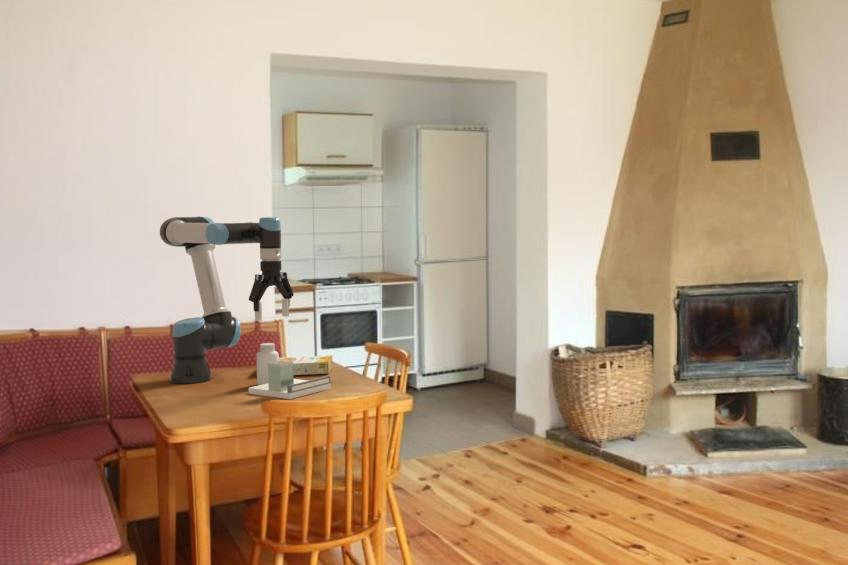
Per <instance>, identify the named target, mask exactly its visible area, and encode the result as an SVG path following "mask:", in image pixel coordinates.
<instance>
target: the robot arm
mask: <svg viewBox="0 0 848 565" xmlns="http://www.w3.org/2000/svg"><path fill="white" fill-rule="evenodd" d="M281 230H282V226H281V219H280V218H279V217H275V216H274V217H273V216H272V217H271V216H269V217H268V216H267V217H266V216H265V217H260V218H259V222H252V221H251V222H250V221H249V222H234V223H233V222H232V223H230V222H225V223H224V222H223V223H222V222H215V221H214V220H213V219H211V218H210V217H208V216H205V217H204V216H184V217H183V216H181V217H180V216H175V217H169V218H167V219H166V220H165V221H163V222H162V223H161V226H160V227H159V237H160V240H162V241H163V243H165V245H168V246H170V247H178V248H179V247H181V248H182V247H183V248H185V253H186V254H188V256H190V257H191V262H192V266H193V270H194V275H195V278H196V283H197V288H198V292H199V297H200V300H201V305H202V309H203V315H202V316H199V317H197V316H196V317H189V318H185V319H181V320H178V321H175V323H174V324H173V325H172V338H173V339H172V340H173V357H174V362H173V364H172V365H173V366H172V368H171V369H172V370H171V374H170V376H169V377H170V383H172V384H195V383H196V384H197V383H202V382H203V383H204V382H207V381H210V380H212V371H211V369H210V366H209V364H208V361H207V358H206V357H207V356H206V355H207V354H206V351H213V350H217V349H227V348H231V347H233V346H236V345H237V343H238V342H239V341H240V339H241V334H242V328H241V327H242V326H241V323H240V320H239V319H238V318H237V317H235V316H233V315H232V311H231V310H229V309H228V308H227V307H226V303H225V300H224V299H225V298H224V295H223V290H222V285H221V282H220V278H219V277H220V276H219V273H218V270H217V265H216V261H215V257H214V256H215V255H214V250H215V249H216V245H217V246H222V245H237V244H238V245H239V244H240V245H241V244H259V254H260V257H259V259H260V260H261V261H260V263H259V264H260V265H259V266H260V267H259V268H260V271H261V274H254V281H253V285H252V287H251V291H250V294H249V297H248V301H249V302H251V303H252V304H253V312H254V321H256V322H257V321H259V322H261V321H263V314H262V313H263V311H262V310H263V309H262V308H263V307H262V301H261V300H262V298H263V296H264V294H265V292H266V291H267V289H268V288H270V287H273V286H275V287H276V289H277V290H278V292H279V293H280V295H281V296H282V298H281V314H282V315H281V317H287V318H288V317H289V316H290V308H289V307H290V300H291V299H292V298H293V297H294V292H293V289H292V287H291V284H290V281H289V279H288V273H287V272H285V271H284V272H283V271H281V270H283V269H282V260H281V259H282V234H281V233H282V231H281Z"/></svg>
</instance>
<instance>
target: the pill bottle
mask: <svg viewBox="0 0 848 565" xmlns="http://www.w3.org/2000/svg"><path fill="white" fill-rule="evenodd" d="M275 346H276V344H275V343H272V342H263V343H260V344H259V349H260V351H258V352H257V353H256V365H257V373H256V381H257V386H259V385H263V384H267V383H268V365H267V363H270V362H275V361H279V358H280V355H279V352H278V351H276V348H275Z"/></svg>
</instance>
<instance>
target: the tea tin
mask: <svg viewBox="0 0 848 565" xmlns="http://www.w3.org/2000/svg"><path fill="white" fill-rule="evenodd" d="M267 365H268V383H269V390H275V391H285V390H287V386H289V385H293V384H294V379H295V378H294V375H293V362H292V361H282V360H280V361H275V362H270V363H267Z"/></svg>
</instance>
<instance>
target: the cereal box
mask: <svg viewBox="0 0 848 565" xmlns="http://www.w3.org/2000/svg"><path fill="white" fill-rule="evenodd" d="M280 360H282V361H292V362H293V376H306V375H309V376H310V375H326V374H327V375H328V374H330V373H331V370H332V369H333V355H315V356H314V355H313V356H312V355H311V356H293V357H292V356H291V357H289V356H288V357H286V356H285V357H279V361H280ZM255 370H256V374H257V364H256V366H255Z"/></svg>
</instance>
